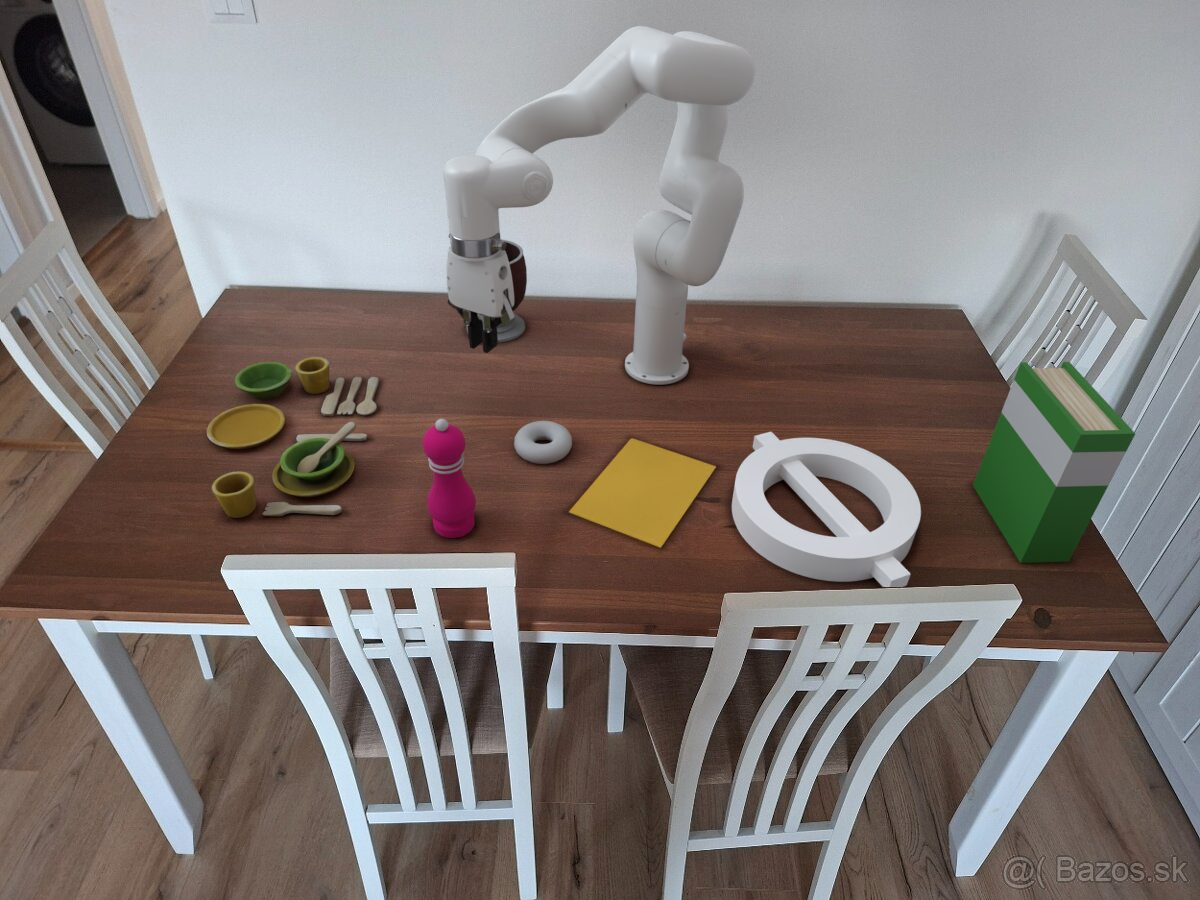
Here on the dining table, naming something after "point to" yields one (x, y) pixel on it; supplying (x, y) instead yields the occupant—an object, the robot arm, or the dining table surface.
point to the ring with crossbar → (826, 510)
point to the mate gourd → (519, 285)
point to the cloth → (644, 492)
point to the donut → (543, 451)
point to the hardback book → (1050, 461)
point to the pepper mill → (448, 481)
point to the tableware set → (304, 464)
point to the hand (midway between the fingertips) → (483, 346)
